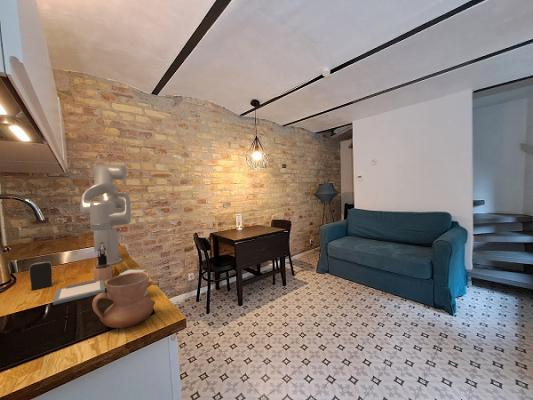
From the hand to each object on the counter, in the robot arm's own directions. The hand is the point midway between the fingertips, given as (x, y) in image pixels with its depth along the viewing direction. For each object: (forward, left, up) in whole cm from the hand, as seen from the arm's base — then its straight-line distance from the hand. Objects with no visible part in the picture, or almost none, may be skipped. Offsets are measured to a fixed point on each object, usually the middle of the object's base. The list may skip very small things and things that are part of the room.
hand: (102, 262), depth 109 cm
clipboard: (+12, -8, -8) cm, 17 cm away
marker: (0, 0, -8) cm, 8 cm away
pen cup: (0, 0, -8) cm, 8 cm away
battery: (-6, -22, -8) cm, 24 cm away
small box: (+32, +9, -9) cm, 34 cm away
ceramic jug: (+49, +5, -9) cm, 50 cm away
